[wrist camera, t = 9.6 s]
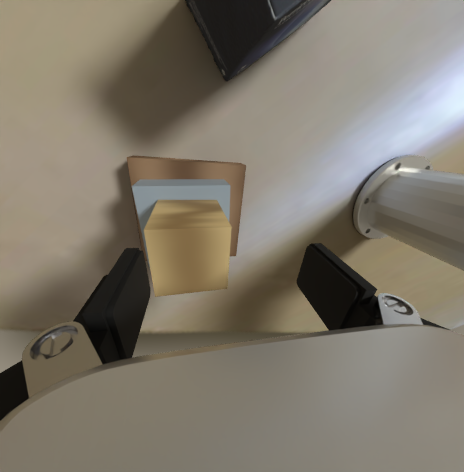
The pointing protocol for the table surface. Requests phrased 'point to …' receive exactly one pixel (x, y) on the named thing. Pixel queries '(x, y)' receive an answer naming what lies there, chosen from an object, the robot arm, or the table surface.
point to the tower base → (192, 170)
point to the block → (188, 246)
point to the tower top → (177, 195)
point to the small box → (248, 27)
